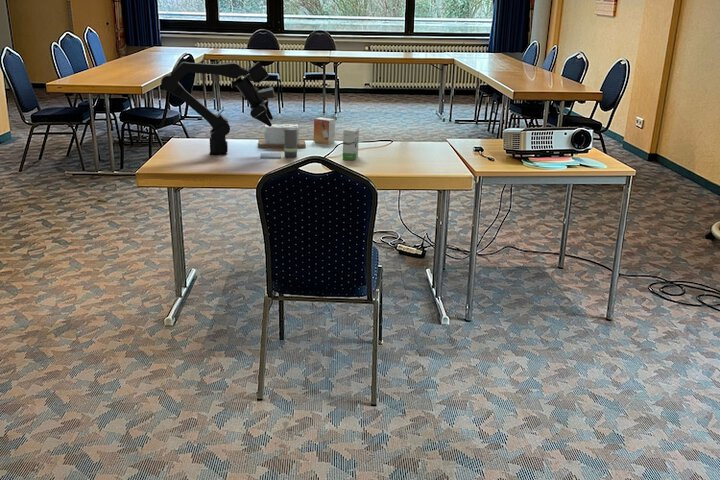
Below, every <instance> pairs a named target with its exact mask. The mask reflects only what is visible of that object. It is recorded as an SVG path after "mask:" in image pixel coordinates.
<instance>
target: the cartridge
mask: <svg viewBox="0 0 720 480" xmlns="http://www.w3.org/2000/svg"><path fill="white" fill-rule="evenodd" d="M283 149H284V158H288V159H296V158H297V157H298V148H297V129H294V128H287V129H284V148H283Z"/></svg>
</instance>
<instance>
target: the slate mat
mask: <svg viewBox="0 0 720 480" xmlns="http://www.w3.org/2000/svg"><path fill="white" fill-rule="evenodd" d="M281 154H282V153H281V152H260V159H281V158H282V155H281Z"/></svg>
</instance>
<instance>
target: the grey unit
mask: <svg viewBox="0 0 720 480" xmlns="http://www.w3.org/2000/svg"><path fill="white" fill-rule="evenodd" d="M271 124H272V126H270V127H269V126H268V125H266V124H264V125H265V128H264V139H258V145H257V147H258V148H259V149H261V148H264V149H266V148H270V149H274V148H275V149H281V148H282V149H284V129H287V128H294V129H297V149H306V148H307V144H306V140H305V139H299V137H300V136H299V133H300V132H299V130H300V129H299V125H298V123H297V124H295V123H294V124H293V123H288V124H287V123H285V124H284V123H271Z"/></svg>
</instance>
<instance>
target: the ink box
mask: <svg viewBox="0 0 720 480" xmlns="http://www.w3.org/2000/svg"><path fill="white" fill-rule="evenodd" d="M342 138H343V139H342V160H346V161H356V159H357V158H358V156H359V141H360V140H359V139H360V128H359V127H358V128H357V127H350V126H348V127H346V128H344V129H343V135H342Z"/></svg>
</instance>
